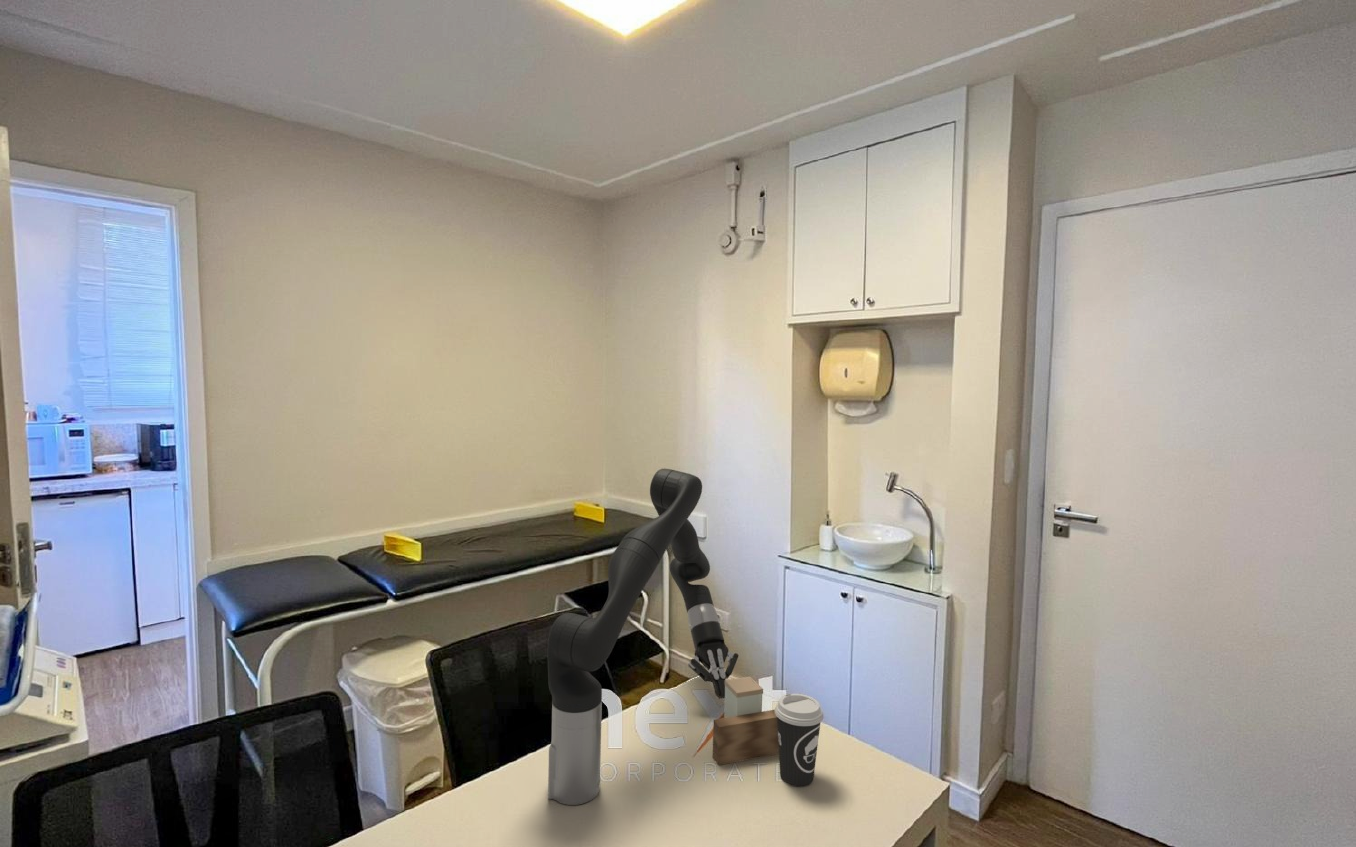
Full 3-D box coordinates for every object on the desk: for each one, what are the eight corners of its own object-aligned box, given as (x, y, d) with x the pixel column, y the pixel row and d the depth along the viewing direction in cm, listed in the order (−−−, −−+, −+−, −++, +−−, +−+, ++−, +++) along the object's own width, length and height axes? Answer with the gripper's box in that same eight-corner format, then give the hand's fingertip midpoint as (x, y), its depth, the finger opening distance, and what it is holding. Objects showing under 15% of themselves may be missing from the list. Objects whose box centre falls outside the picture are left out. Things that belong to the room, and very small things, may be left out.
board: (718, 765, 127) (719, 726, 127) (712, 757, 130) (713, 719, 130) (787, 751, 133) (788, 715, 133) (780, 744, 136) (781, 708, 135)
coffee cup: (813, 762, 129) (816, 691, 129) (827, 791, 120) (830, 715, 119) (767, 763, 129) (770, 691, 128) (778, 792, 119) (780, 715, 118)
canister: (735, 753, 132) (737, 693, 131) (722, 737, 138) (724, 680, 137) (761, 748, 134) (763, 688, 134) (748, 733, 140) (750, 676, 139)
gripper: (683, 622, 152) (701, 695, 141) (733, 617, 156) (754, 687, 145) (676, 635, 157) (692, 707, 146) (724, 630, 161) (743, 699, 150)
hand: (723, 697), depth 146 cm, fingers closed
